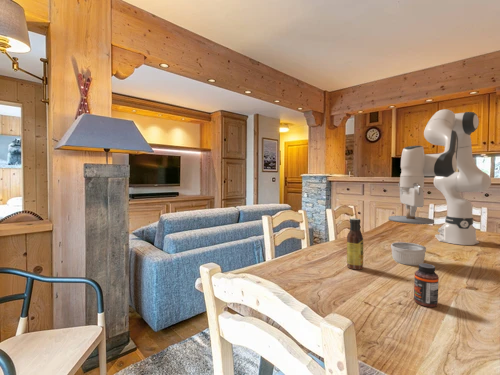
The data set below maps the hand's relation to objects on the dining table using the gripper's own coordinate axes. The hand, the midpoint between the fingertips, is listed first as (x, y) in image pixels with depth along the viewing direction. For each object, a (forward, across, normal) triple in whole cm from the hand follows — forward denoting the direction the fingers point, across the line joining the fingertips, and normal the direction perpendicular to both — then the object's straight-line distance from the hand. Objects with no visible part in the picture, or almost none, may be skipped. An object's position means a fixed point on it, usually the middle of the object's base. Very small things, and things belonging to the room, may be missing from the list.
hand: (410, 215), depth 117 cm
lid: (+2, 0, 0) cm, 2 cm away
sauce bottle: (+21, -14, +24) cm, 34 cm away
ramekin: (+20, 0, +1) cm, 20 cm away
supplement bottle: (+21, -41, +7) cm, 47 cm away
